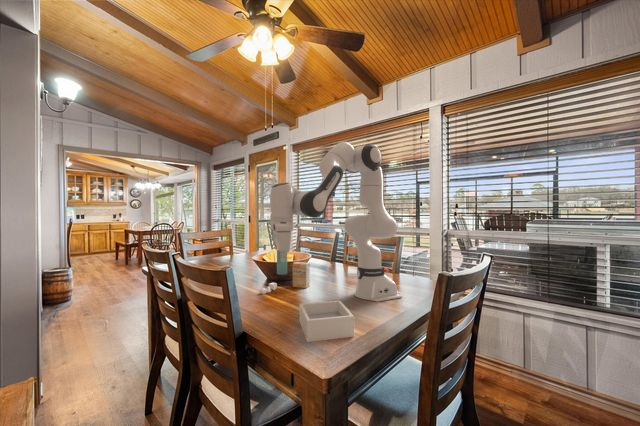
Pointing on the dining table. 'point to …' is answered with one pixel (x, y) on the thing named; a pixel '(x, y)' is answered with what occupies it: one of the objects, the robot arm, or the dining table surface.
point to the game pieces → (268, 288)
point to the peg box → (326, 321)
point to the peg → (281, 265)
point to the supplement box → (301, 274)
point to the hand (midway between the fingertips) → (282, 260)
